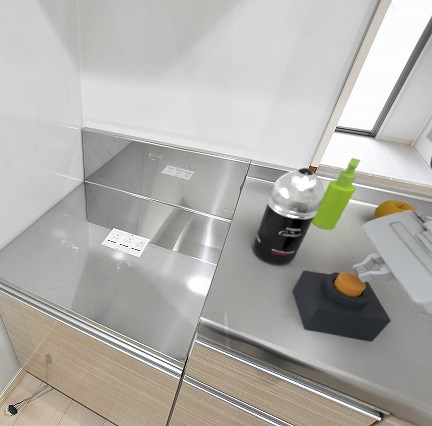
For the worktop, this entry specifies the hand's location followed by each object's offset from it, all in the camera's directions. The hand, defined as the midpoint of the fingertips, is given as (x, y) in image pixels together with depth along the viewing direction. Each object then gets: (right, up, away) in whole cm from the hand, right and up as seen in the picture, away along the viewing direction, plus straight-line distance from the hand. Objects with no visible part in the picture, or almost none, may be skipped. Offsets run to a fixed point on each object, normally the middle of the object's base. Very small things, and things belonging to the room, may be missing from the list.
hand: (357, 274), depth 55 cm
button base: (0, -10, +7) cm, 12 cm away
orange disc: (0, -3, +2) cm, 4 cm away
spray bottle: (-4, +1, +23) cm, 23 cm away
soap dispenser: (+17, +9, +33) cm, 38 cm away
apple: (+33, +7, +30) cm, 45 cm away
